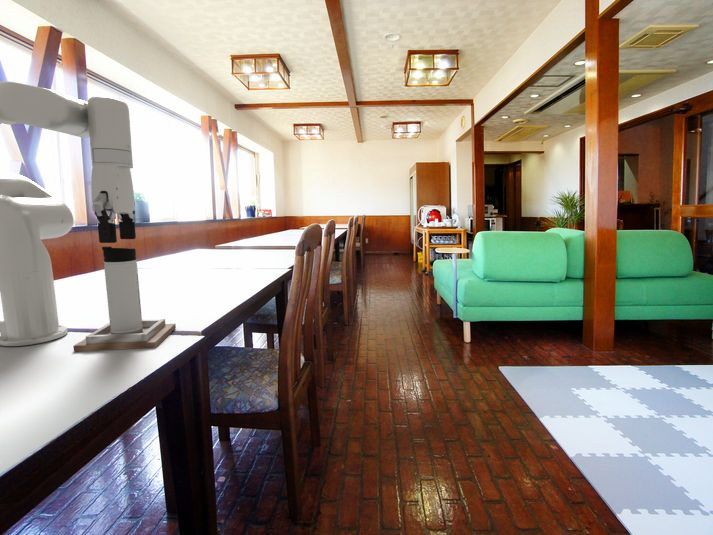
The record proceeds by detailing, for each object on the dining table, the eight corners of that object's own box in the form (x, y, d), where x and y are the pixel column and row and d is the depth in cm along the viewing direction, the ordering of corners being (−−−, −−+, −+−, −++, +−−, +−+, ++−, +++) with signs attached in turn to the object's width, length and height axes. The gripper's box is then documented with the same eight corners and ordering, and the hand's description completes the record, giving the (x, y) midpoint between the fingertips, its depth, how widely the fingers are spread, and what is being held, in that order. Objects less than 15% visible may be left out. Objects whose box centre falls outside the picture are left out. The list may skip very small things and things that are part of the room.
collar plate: (73, 351, 85) (72, 338, 84) (106, 331, 98) (104, 320, 98) (155, 347, 87) (154, 335, 86) (175, 328, 100) (175, 317, 100)
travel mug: (103, 337, 90) (93, 246, 87) (129, 329, 96) (121, 243, 93) (123, 340, 88) (114, 247, 85) (149, 331, 94) (141, 244, 91)
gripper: (112, 163, 95) (117, 237, 97) (70, 154, 78) (78, 244, 80) (146, 164, 96) (151, 237, 98) (112, 155, 79) (119, 244, 81)
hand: (118, 240), depth 89 cm, fingers open, 9 cm apart
